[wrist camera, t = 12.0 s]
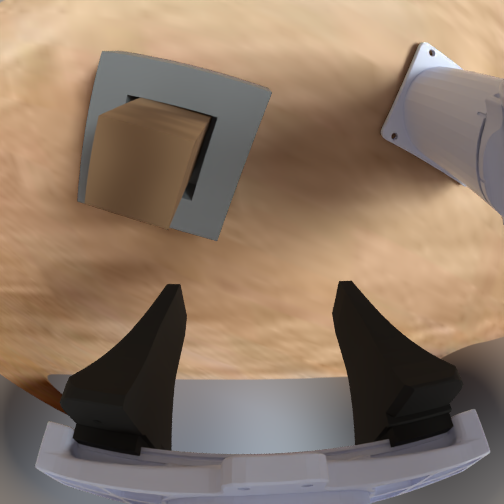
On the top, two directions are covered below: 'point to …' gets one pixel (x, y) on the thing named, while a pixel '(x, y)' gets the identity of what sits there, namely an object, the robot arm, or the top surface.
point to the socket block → (194, 98)
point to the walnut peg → (144, 159)
